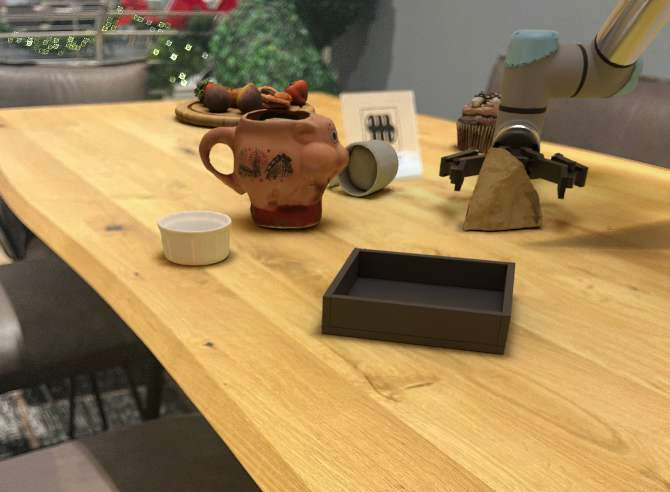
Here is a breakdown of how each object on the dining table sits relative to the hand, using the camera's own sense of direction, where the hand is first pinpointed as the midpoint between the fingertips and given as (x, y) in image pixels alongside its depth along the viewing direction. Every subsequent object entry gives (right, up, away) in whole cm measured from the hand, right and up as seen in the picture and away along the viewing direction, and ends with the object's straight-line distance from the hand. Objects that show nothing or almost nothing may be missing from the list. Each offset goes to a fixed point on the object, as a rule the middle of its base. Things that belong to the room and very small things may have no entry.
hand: (509, 184), depth 101 cm
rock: (0, -4, +4) cm, 6 cm away
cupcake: (+7, +27, +48) cm, 56 cm away
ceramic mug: (-18, +7, +20) cm, 28 cm away
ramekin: (-41, -12, -7) cm, 43 cm away
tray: (-16, -23, -22) cm, 35 cm away
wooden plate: (-40, +46, +74) cm, 96 cm away
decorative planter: (-32, -3, +5) cm, 32 cm away
